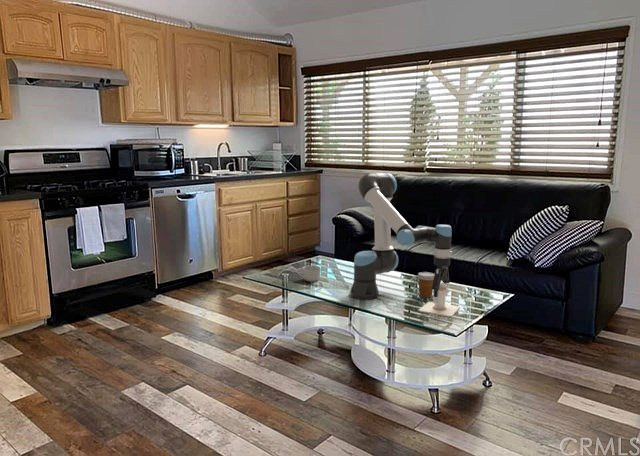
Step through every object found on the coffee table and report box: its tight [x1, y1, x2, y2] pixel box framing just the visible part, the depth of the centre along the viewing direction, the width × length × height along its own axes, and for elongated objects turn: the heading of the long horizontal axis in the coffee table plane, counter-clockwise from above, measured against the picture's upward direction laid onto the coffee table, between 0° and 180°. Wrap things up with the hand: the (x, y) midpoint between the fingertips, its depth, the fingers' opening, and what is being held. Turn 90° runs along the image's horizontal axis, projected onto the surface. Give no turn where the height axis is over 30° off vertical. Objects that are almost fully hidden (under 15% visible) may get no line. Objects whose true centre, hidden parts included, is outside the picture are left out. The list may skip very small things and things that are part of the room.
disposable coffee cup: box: [417, 271, 435, 298], centre depth 262 cm, size 10×10×12 cm
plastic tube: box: [434, 282, 447, 310], centre depth 240 cm, size 5×5×12 cm
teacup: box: [296, 264, 322, 283], centre depth 291 cm, size 14×11×8 cm
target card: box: [418, 300, 461, 318], centre depth 241 cm, size 16×16×1 cm
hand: (440, 299), depth 240 cm, fingers open, 13 cm apart
